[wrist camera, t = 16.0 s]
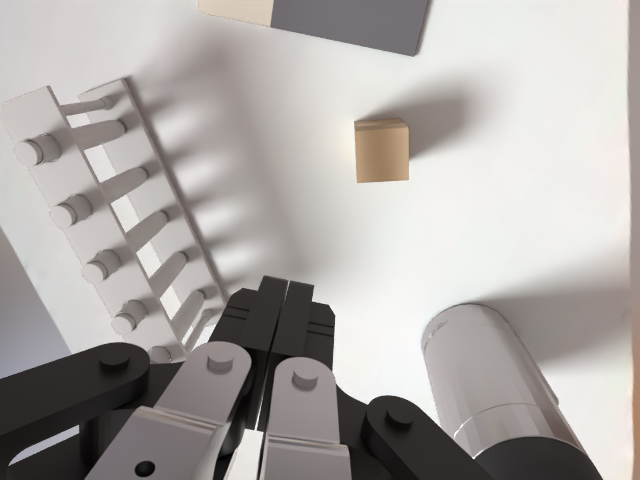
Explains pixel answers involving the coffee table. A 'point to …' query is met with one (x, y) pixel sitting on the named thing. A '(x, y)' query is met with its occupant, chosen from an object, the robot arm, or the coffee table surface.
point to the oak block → (381, 150)
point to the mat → (333, 19)
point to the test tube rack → (103, 225)
